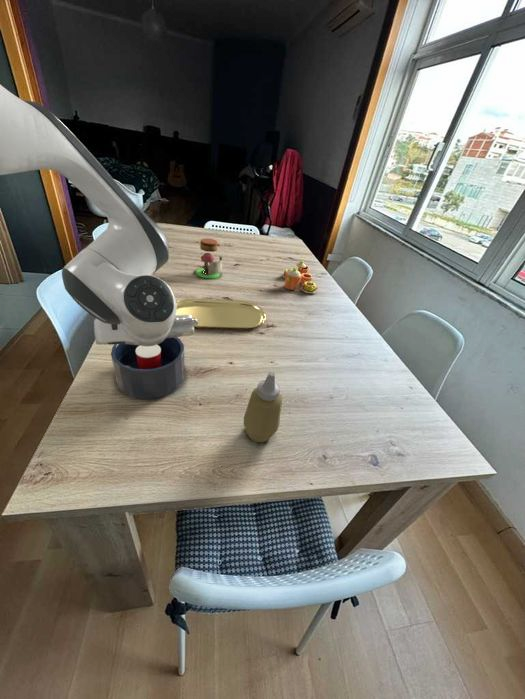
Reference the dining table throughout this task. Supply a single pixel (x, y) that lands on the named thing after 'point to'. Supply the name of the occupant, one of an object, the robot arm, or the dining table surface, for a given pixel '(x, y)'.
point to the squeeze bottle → (263, 410)
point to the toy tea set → (299, 278)
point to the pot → (149, 370)
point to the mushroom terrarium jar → (209, 260)
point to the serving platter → (222, 313)
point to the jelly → (148, 357)
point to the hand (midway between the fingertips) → (146, 336)
